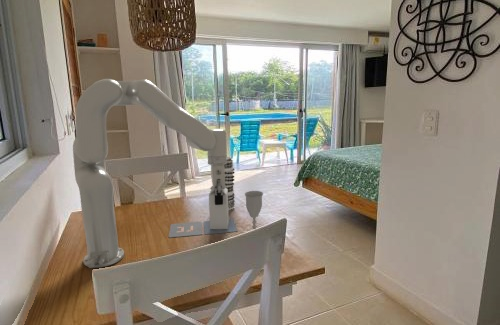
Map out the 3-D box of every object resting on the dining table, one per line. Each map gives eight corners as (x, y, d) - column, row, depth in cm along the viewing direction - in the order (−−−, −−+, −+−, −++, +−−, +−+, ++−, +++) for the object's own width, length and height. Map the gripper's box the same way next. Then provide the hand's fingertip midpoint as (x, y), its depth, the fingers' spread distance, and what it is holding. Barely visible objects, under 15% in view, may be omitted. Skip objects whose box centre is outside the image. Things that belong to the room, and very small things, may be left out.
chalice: (257, 244, 114) (256, 197, 110) (241, 240, 118) (240, 195, 114) (266, 236, 120) (266, 192, 116) (251, 233, 124) (251, 189, 120)
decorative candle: (238, 209, 150) (237, 158, 145) (219, 212, 147) (217, 160, 141) (232, 203, 158) (230, 155, 153) (214, 205, 155) (212, 156, 150)
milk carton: (228, 222, 134) (227, 180, 130) (227, 229, 127) (226, 184, 123) (212, 222, 134) (210, 180, 130) (210, 229, 127) (208, 185, 123)
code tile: (202, 234, 123) (202, 234, 123) (168, 237, 121) (168, 237, 120) (201, 222, 135) (201, 221, 135) (170, 224, 133) (170, 224, 133)
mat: (237, 231, 125) (237, 231, 125) (205, 234, 123) (204, 234, 123) (233, 219, 138) (233, 218, 138) (203, 221, 135) (203, 221, 135)
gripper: (229, 164, 117) (229, 207, 120) (224, 155, 133) (224, 194, 137) (208, 164, 115) (209, 208, 119) (206, 156, 132) (207, 194, 135)
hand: (217, 200), depth 128 cm, fingers open, 9 cm apart
